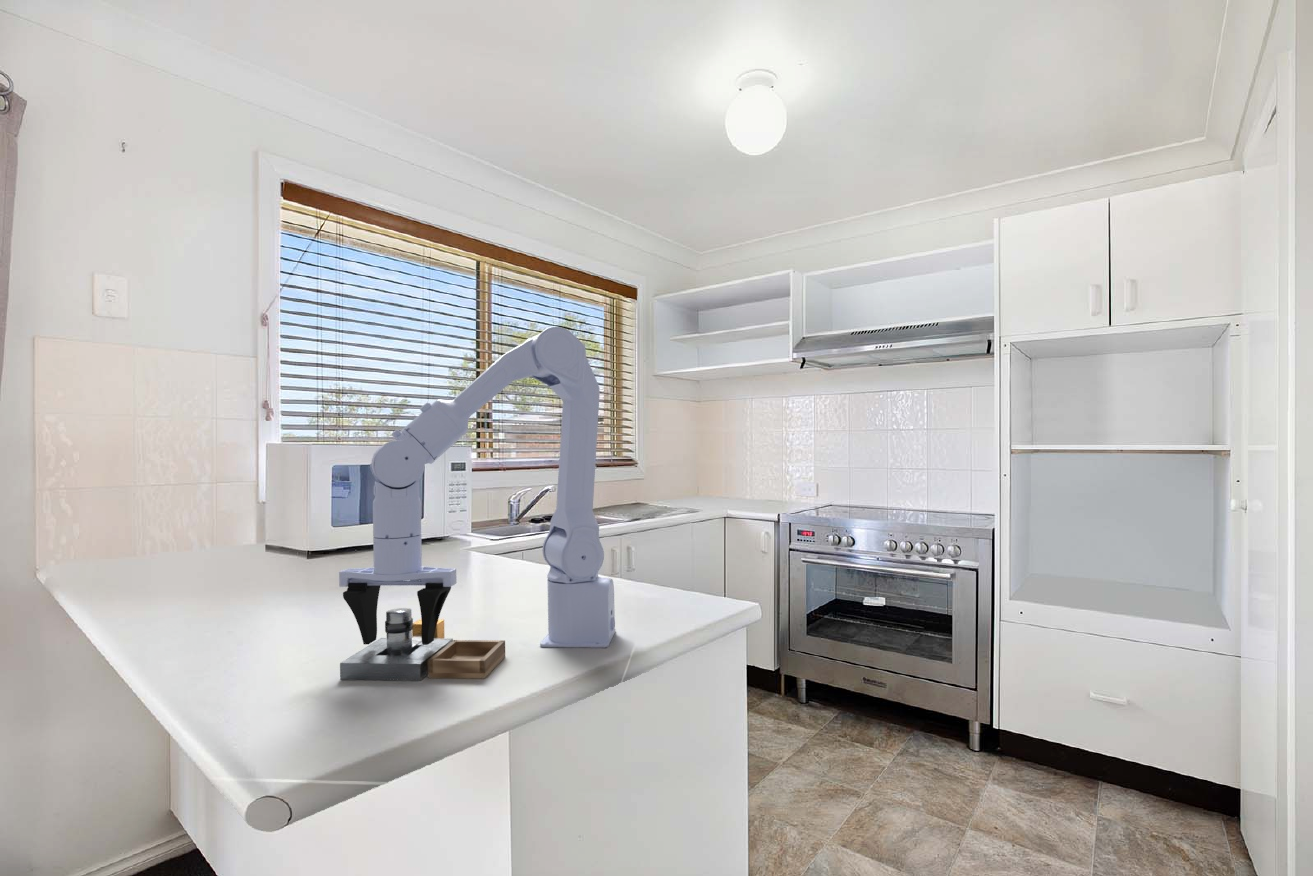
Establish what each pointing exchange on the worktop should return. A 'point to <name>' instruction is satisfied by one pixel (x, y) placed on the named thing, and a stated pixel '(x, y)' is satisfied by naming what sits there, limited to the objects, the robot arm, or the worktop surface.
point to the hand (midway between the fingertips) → (398, 642)
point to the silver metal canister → (399, 631)
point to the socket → (390, 662)
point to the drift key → (417, 632)
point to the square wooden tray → (466, 659)
